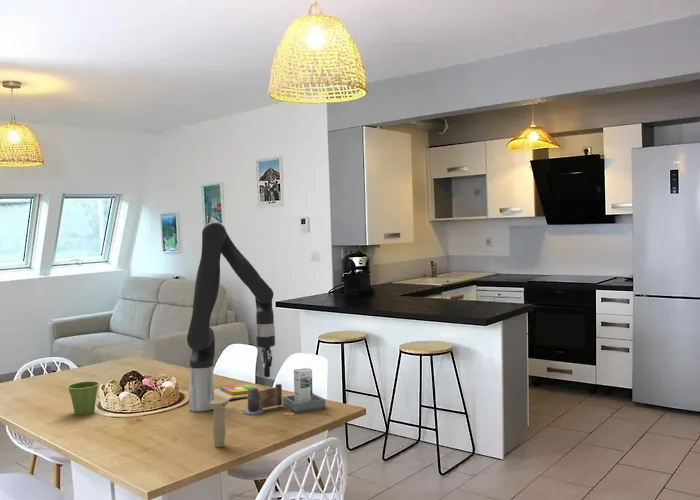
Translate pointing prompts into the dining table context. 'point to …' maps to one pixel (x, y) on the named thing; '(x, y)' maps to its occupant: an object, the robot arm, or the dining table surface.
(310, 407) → the grey tray
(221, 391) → the wooden puzzle
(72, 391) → the plant pot
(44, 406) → the dining table surface
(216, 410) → the handle
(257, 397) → the crank lever
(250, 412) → the crank base
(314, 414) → the dining table surface
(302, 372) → the syrup box
